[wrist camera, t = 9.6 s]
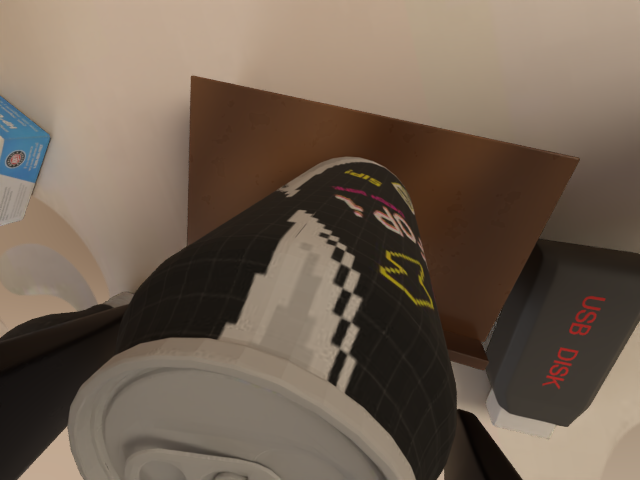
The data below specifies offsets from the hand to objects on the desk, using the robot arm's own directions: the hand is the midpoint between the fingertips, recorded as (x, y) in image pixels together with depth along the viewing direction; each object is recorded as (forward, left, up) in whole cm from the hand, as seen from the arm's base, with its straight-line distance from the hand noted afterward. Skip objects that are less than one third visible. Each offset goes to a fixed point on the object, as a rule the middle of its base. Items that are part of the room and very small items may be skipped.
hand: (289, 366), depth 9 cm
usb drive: (-13, +3, -12) cm, 18 cm away
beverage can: (0, -2, -8) cm, 8 cm away
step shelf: (0, -2, -12) cm, 12 cm away
